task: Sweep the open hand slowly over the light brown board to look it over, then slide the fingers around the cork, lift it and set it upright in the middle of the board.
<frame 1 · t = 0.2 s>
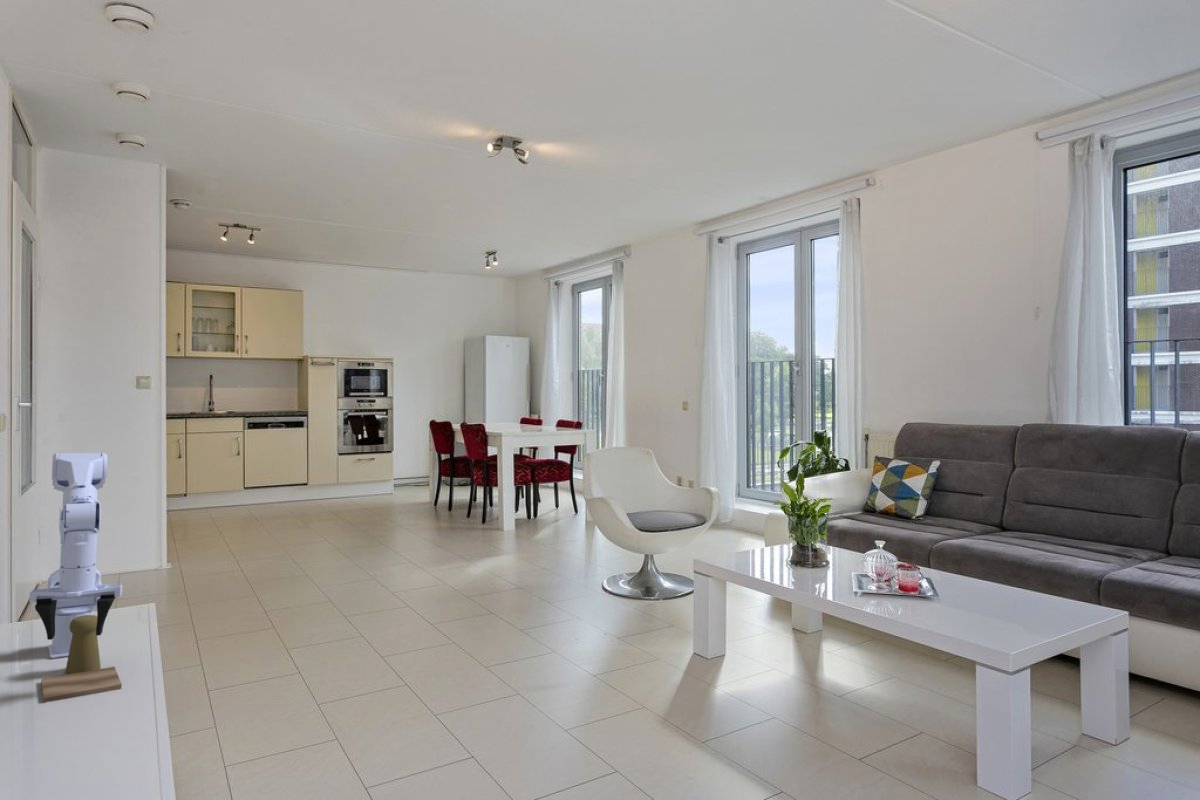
hand: (75, 636, 141), 10 cm above the table, tool pointing down, fingers open, 7 cm apart
light brown board: (81, 685, 142), on the table
cork: (83, 670, 151), on the table
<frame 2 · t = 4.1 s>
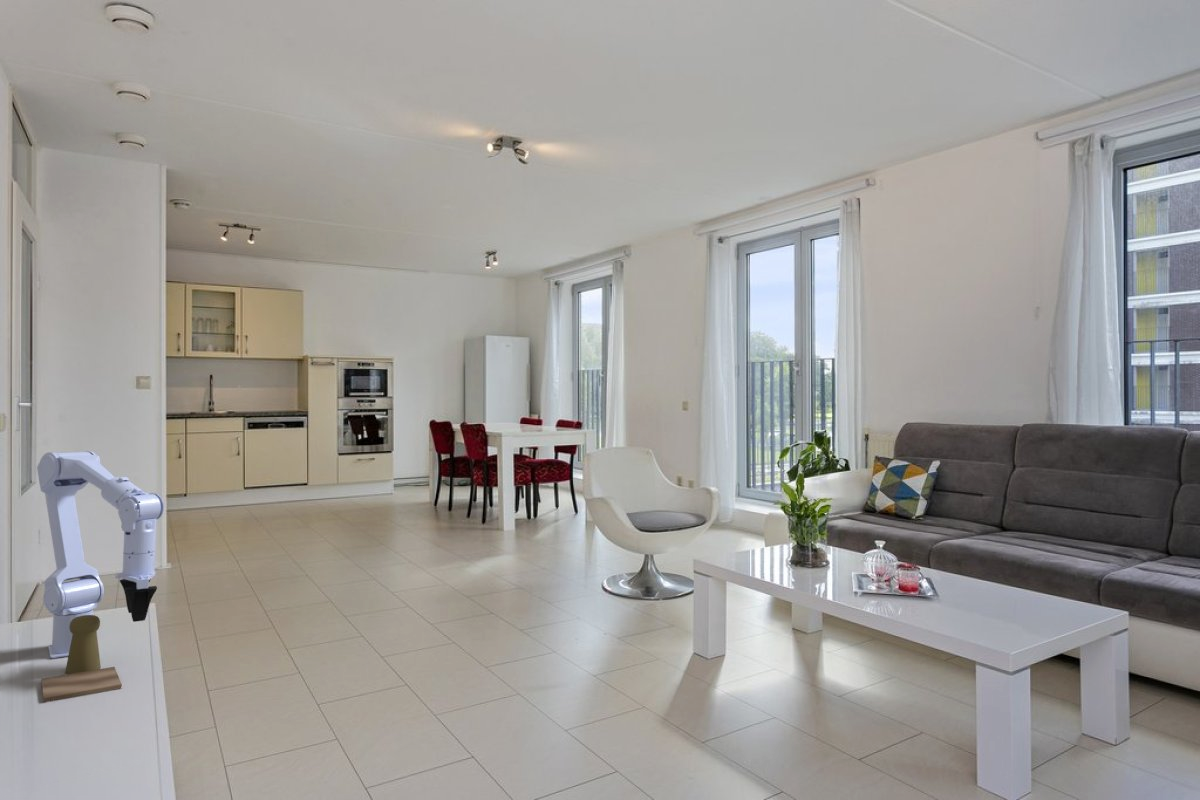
hand: (136, 616, 154), 10 cm above the table, tool pointing down, fingers open, 7 cm apart
nothing on the table moved.
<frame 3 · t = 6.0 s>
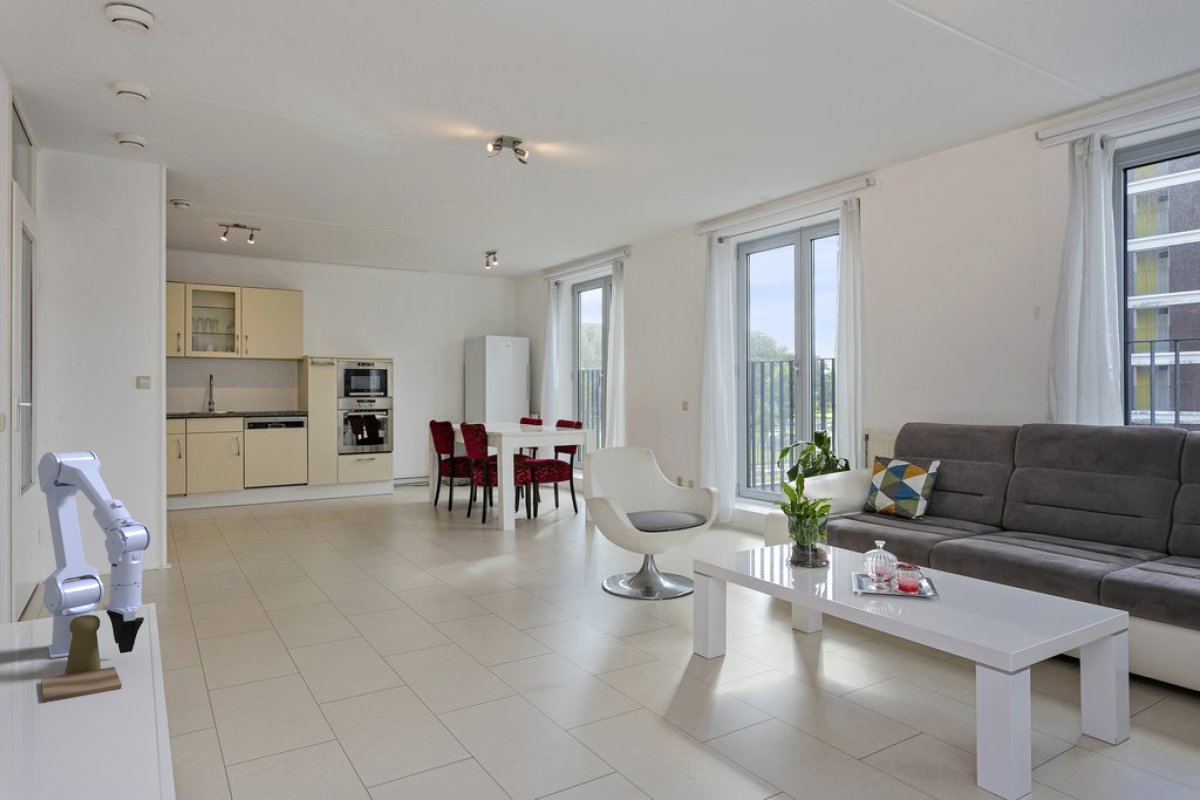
hand: (123, 647, 155), 3 cm above the table, tool pointing down, fingers open, 7 cm apart
nothing on the table moved.
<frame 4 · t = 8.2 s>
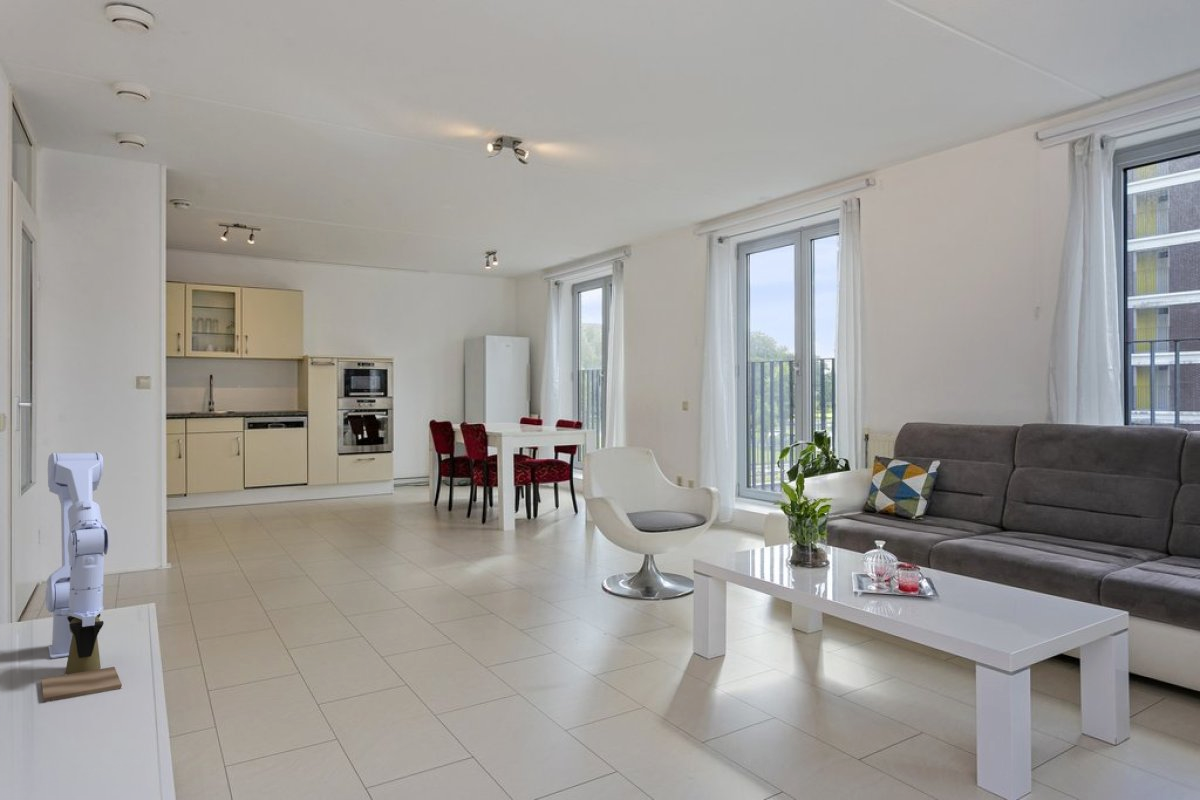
hand: (83, 653, 151), 3 cm above the table, tool pointing down, fingers closed on cork, 5 cm apart
cork: (83, 670, 151), on the table, touching gripper
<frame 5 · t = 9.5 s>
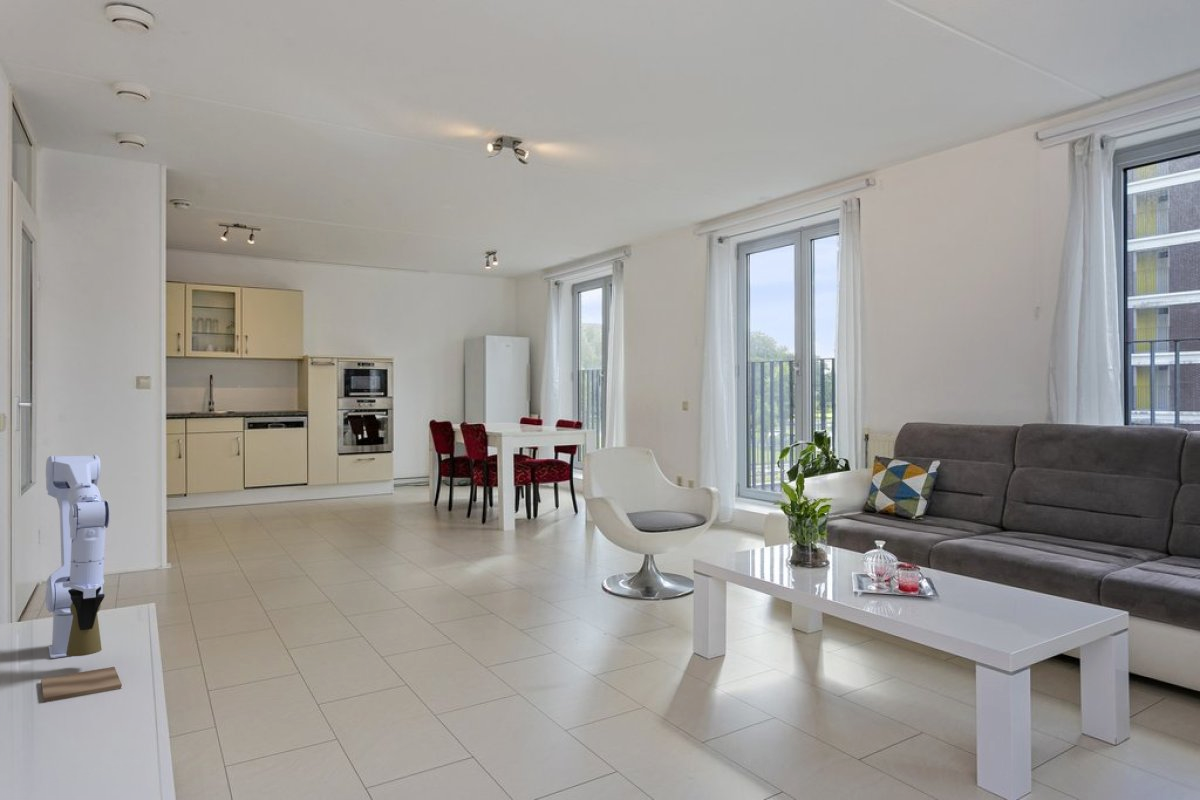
hand: (84, 625, 151), 9 cm above the table, tool pointing down, fingers closed on cork, 5 cm apart
cork: (84, 652, 151), point 4 cm above the table, touching gripper
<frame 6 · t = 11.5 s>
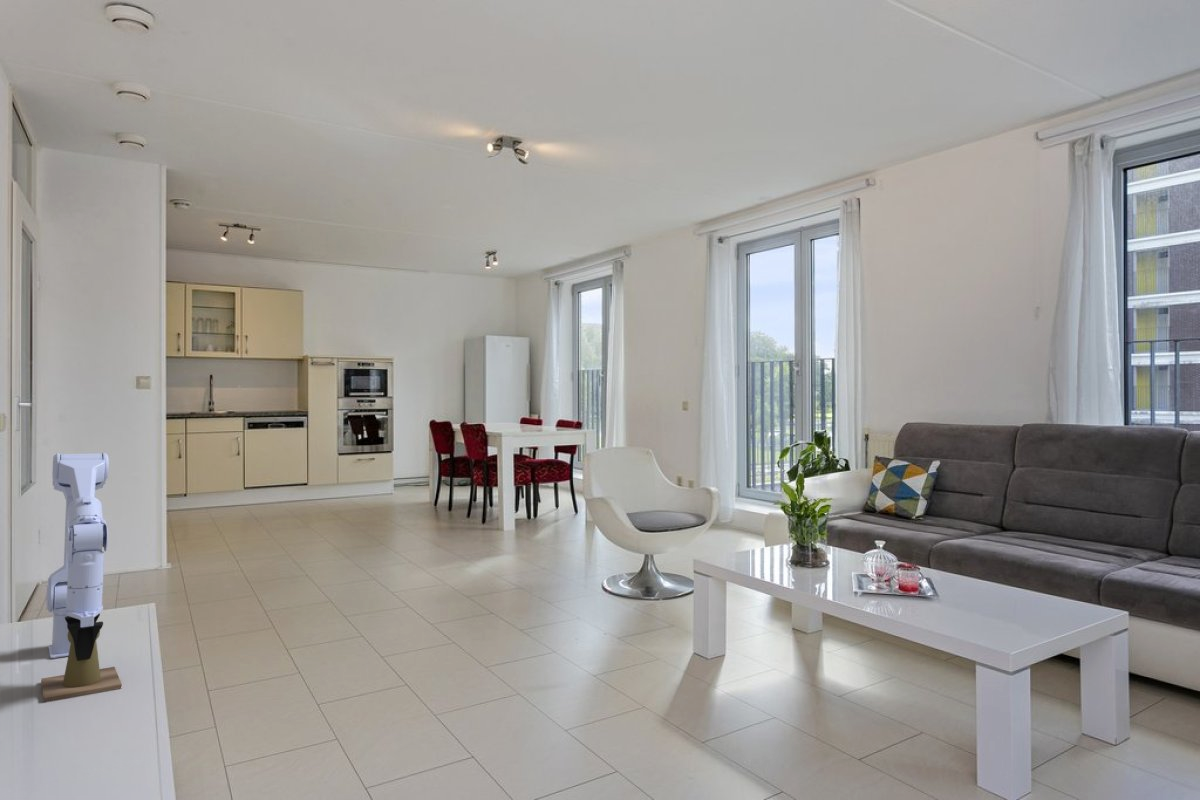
hand: (82, 655, 142), 6 cm above the table, tool pointing down, fingers closed on cork, 5 cm apart
cork: (81, 682, 142), point 1 cm above the table, touching gripper, light brown board
when the fingers open (5 cm above the table, at t = 12.2 s): cork stays where it is, resting on light brown board.
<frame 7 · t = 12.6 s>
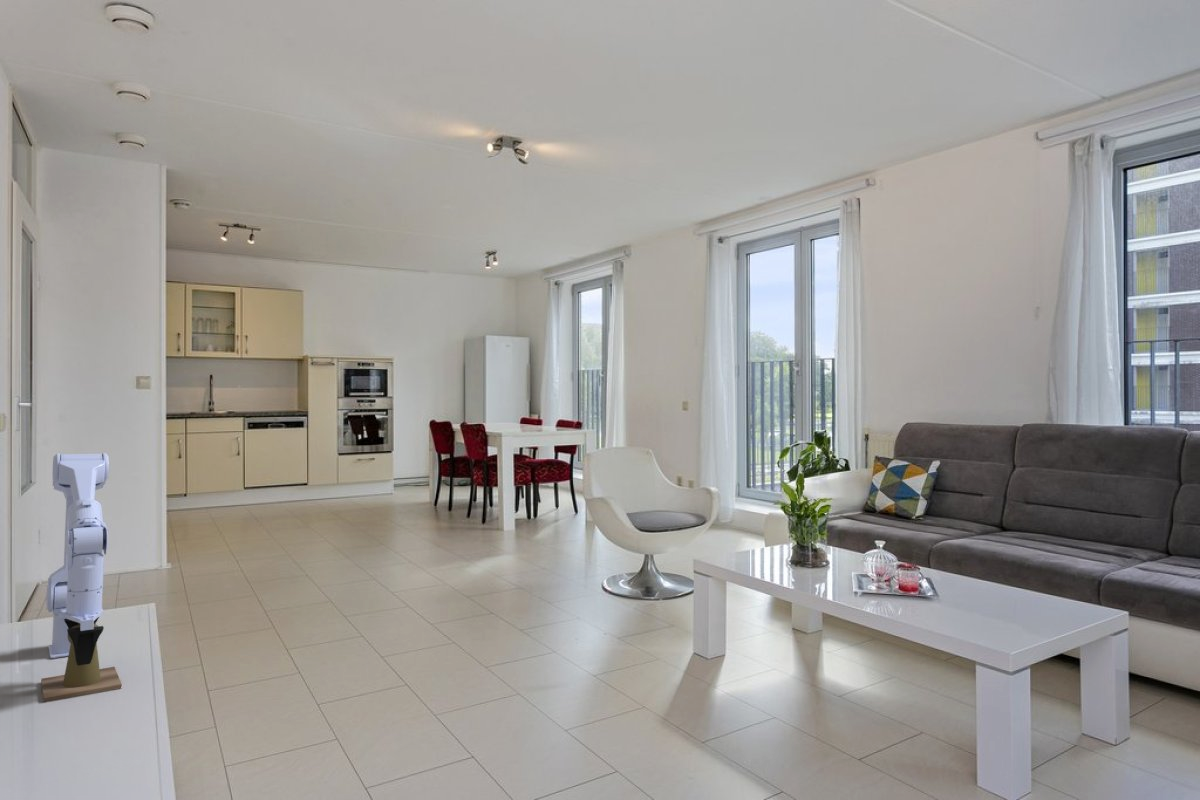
hand: (82, 658, 143), 5 cm above the table, tool pointing down, fingers open, 7 cm apart
cork: (81, 682, 142), point 1 cm above the table, touching light brown board
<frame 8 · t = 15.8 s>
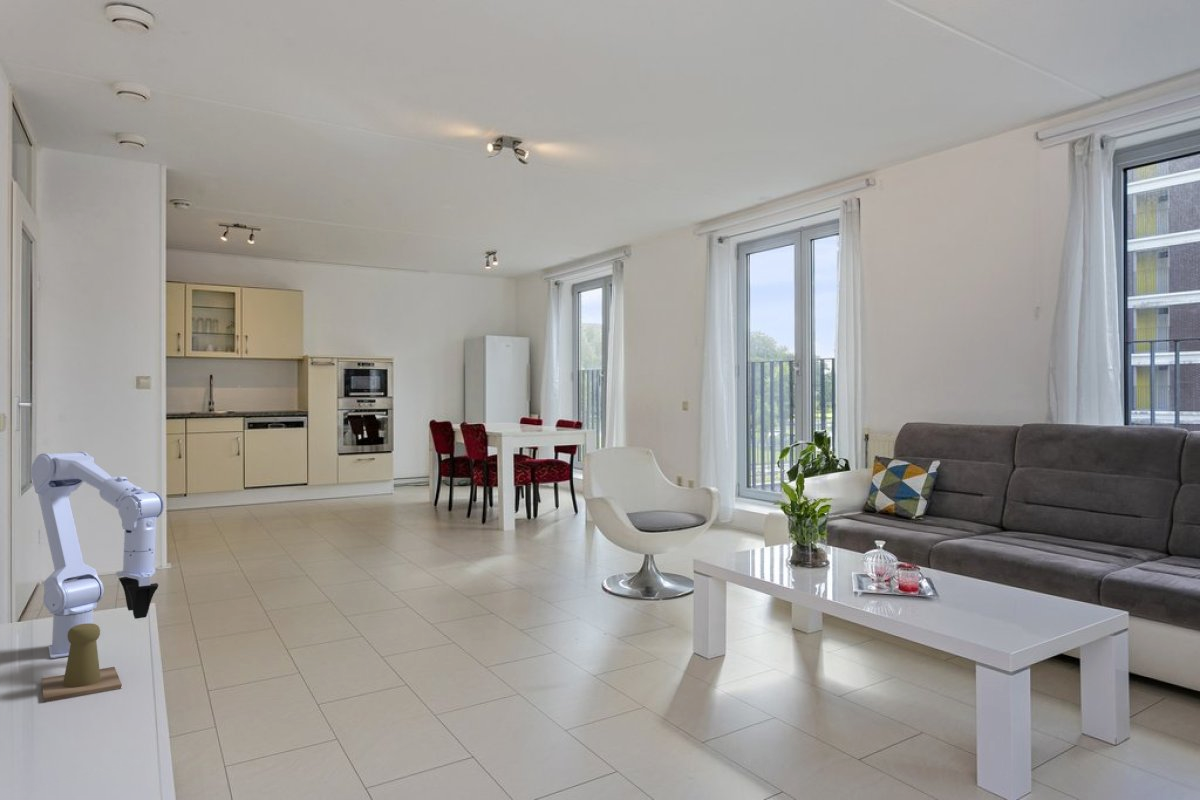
hand: (137, 613, 156), 10 cm above the table, tool pointing down, fingers open, 7 cm apart
nothing on the table moved.
at the end: cork inside the target area on the light brown board (0.2 cm from its centre), point 0.6 cm above the light brown board's base; cork tilted 0°; the gripper is holding nothing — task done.
